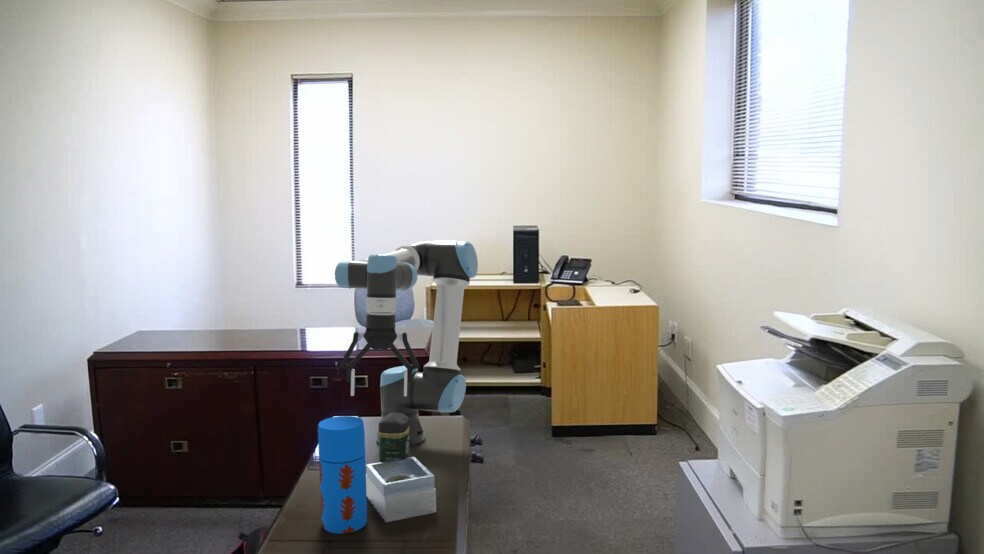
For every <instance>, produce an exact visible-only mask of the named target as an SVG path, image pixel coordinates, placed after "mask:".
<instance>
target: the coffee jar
mask: <svg viewBox="0 0 984 554" xmlns="http://www.w3.org/2000/svg"><path fill="white" fill-rule="evenodd" d="M378 427H379V443H378V444H379V445H378V449H379V454H378V455H379V458H378V459H379V462H385V461H390V460H396V459H402V458H408V457H410V446H409V418H408V417H407V416H406V415H405V414H404V413H390V414H388V415H386V416H385V417H383V418H382V419H381V418H380V420H379V422H378Z"/></svg>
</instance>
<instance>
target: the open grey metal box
mask: <svg viewBox="0 0 984 554" xmlns="http://www.w3.org/2000/svg"><path fill="white" fill-rule="evenodd" d="M366 493H367V497H368V498H367V500H368V501H369V500H370V501H371V502H370V501H369V502H370V503H371V505H372V504H373V505H374V506H373V505H372V506H373V507H374V509H375V508H376V509H377V510H376V509H375V510H376V511H377V513H378V512H379V513H378V514H379V515H380V517H381V516H382V517H381V518H382V520H383V519H384V520H383V521H384V522H385V523H389V522H395V521H400V520H405V519H409V518H414V517H418V516H424V515H428V514H429V515H430V514H433V513H437V488H436V487H435V475H434V474H433V473H432V472H431V471H430V470H429V469H428V468H427V467H426V466H424V464H423V463H421V461H419V460H418V458H416V457H415V456H409V457H408V458H402V459H396V460H390V461H385V462H380V461H379V462H373V463H368V464H367V463H366Z"/></svg>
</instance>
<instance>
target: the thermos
mask: <svg viewBox="0 0 984 554" xmlns="http://www.w3.org/2000/svg"><path fill="white" fill-rule="evenodd" d="M364 425H365V424H364V420H363V419H362V418H361V417H357V416H353V415H352V416H350V415H346V416H345V415H340V416H332V417H328V418H324V419H323V420H321V421H319V422H318V425H317V438H318V440H317V441H318V444H317V445H318V462H319V463H318V466H319V467H318V469H319V490H320V514H321V521H322V522H321V524H322V529H323V530H324V531H326V532H329V533H332V534H348V533H353V532H357V531H359V530H361V529H362V527H363V526H364V527H365V526H366V525H365V524H367V523H366V522H367V517H368V503H367V501H368V498H367V493H366V474H367V470H366V465H367V463H366V442H365V441H366V434H365V426H364ZM364 527H363V528H364ZM356 530H357V531H356Z"/></svg>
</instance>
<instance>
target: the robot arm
mask: <svg viewBox="0 0 984 554" xmlns="http://www.w3.org/2000/svg"><path fill="white" fill-rule="evenodd" d="M478 268H479V264H478V256H477V252H476V248H475V247H474V245H473V244H472V243H471V242H470V241H466V240H458V239H456V240H433V239H427V240H426V239H425V240H421V241H416V242H412V243H409V244H405V245H401V246H399V247H397V248H396V249H395V250H394V251H390V252H386V253H382V254H373V253H372V254H370V255H369V256H368V258H364V259H360V260H359V259H358V260H344V261H339V262H338V263H337V265H336V267H335V269H334V280H335V283H336V285H337V286H339V287H340V288H344V289H363V290H365V289H366V312H367V314H366V316H365V324H366V325H365V332H359V331H355V332H354V333H353V336H352V341H351V343H350V345H349V347H348V349H347V351H346V353H345V354H344V357H343V358H342V360H341V362H340V364H339V367H340V368H341V369H345V370H346V382H347V383H350V396H351V397H354V396H355V382H356V381H355V378H356V375H355V373H356V370H355V369H354V367H355V366H356V364H357V363H358V362H359V361H361V359H362V358H363V357H364V356H365V355H366V354H367V352H368V351H369V350H370V349H372V350H375V351H378V350H382V351H387V350H389V349H390V351H391V352H392V353H393V354H394V355H395V356H396V358H397V359H398V360H399V361H400V363H401V364H402V365H401V366H394V367H391V368H388V369H386V370H383V371H382V373H381V375H380V384H379V387H380V409H381V410H380V411H381V418H380V420H381V419H382V418H383V417H385V416H386V415H388V414H390V413H404V414H405V415H406V416H407V417H408V418H409V447H411V446H415V445H418V444H420V443H423V442H424V440H425V437H426V436H425V429H424V427H423V423H422V421H421V418H420V415H419V414H420V413H419V411H426V412H427V411H428V412H437V413H454V412H456V411H458V409H459V408H460V407H461V405H462V403H463V401H464V400H465V399H464V398H465V394H466V389H467V384H466V383H467V380H466V377H465V376H464V375H462V374H461V372H462V371H461V368H460V367H459V365H458V352H459V342H460V332H461V323H462V316H463V315H462V311H463V303H464V296H465V294H464V293H465V289H466V288H467V287H468V286H469V285H470V281H471V279H473V278H475V277H476V276H477V273H478ZM418 276H424V277H432V281H433V282H434V284H435V285H436V295H435V304H434V314H433V315H434V316H433V323H432V331H431V339H430V340H431V343H430V349H429V361H428V362H427V363H425V364H424V365H423V370H422V372H419V367H420V364H419V362H418V360H417V357H416V356H415V353H414V352H413V349H412V347H411V345H410V343H409V341H408V333H407V332H406V331H405V332H401V333H400V332H399V333H396V315H395V314H394V313H396V310H397V309H396V307H397V294H396V293H397V291H405V290H406V291H407V290H409V289H412V288H413V287H414V286H415V285H416V283H417V282H418ZM363 338H364V340H365V342H366V344H365V345H364V347H363V348H362V349H361V350H360V351H359V352H358V353H357V355H356V356H355V357H354V358H353V359H352V360H351V361H350V362H349V363H347V362H348V360H349V358H350V357H351V355H352V353H353V351H354V349H355V347H356V345H357V343H358V342H360V341H361V340H362V339H363ZM397 339H399V341H400V342H403V343H402V344H403V346H404V348H405V350H406V352H407V354H408V356H409V358H410V360H411V363H412V364H411V363H409V361H408V360H407V359H406V357H404V355H403V354H402V352H400V350H399V349H398V348H397V346H395V344H394V343H395V341H396V340H397ZM376 442H377V444H379V426H378V427H377V431H376Z"/></svg>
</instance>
